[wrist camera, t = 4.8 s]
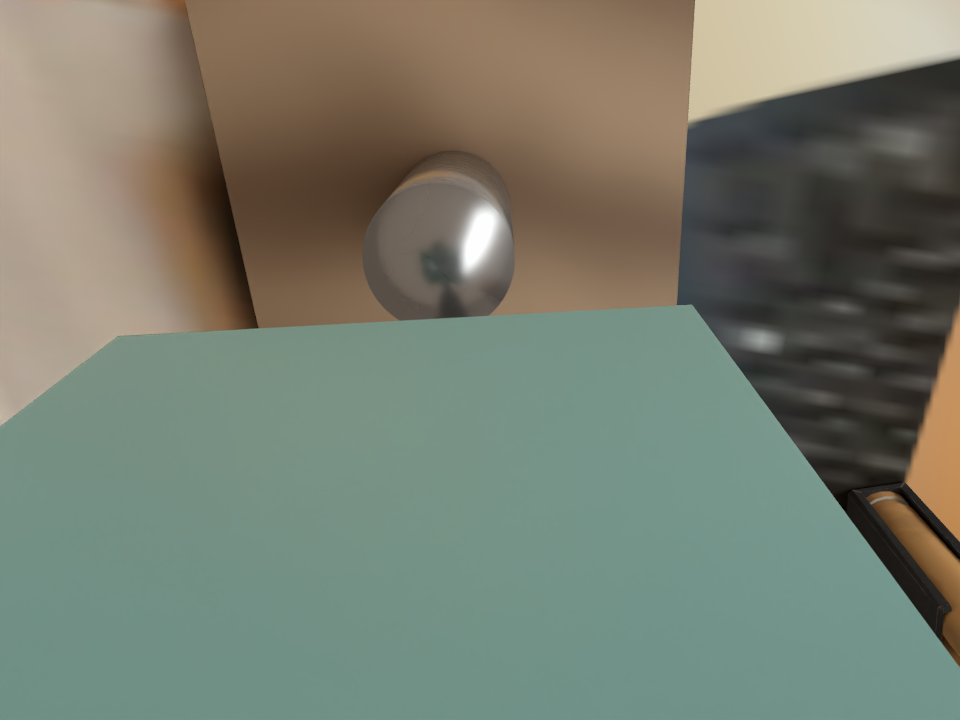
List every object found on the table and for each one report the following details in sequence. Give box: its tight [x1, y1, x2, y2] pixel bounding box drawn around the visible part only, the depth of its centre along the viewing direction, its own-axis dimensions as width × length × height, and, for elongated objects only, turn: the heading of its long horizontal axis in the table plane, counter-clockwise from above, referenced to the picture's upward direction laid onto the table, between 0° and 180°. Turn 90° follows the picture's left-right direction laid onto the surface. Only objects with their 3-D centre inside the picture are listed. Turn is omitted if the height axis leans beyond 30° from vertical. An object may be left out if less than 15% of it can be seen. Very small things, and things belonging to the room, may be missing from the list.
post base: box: [185, 0, 695, 328], centre depth 15 cm, size 11×12×6 cm
